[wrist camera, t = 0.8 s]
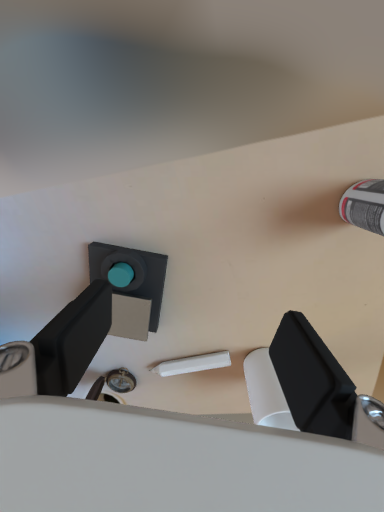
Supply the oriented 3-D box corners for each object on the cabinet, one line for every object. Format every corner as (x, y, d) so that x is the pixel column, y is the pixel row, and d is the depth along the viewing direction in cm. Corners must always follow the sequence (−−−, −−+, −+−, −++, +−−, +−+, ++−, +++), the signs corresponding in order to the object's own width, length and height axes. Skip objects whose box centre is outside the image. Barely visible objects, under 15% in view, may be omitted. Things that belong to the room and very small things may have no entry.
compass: (134, 390, 42) (121, 432, 35) (98, 381, 42) (78, 422, 35) (141, 367, 39) (128, 408, 32) (102, 357, 38) (81, 397, 32)
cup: (250, 342, 34) (268, 406, 25) (315, 355, 35) (356, 423, 25) (236, 372, 38) (247, 438, 28) (296, 384, 38) (325, 453, 29)
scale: (93, 238, 28) (81, 246, 25) (168, 252, 28) (164, 261, 25) (96, 315, 34) (86, 328, 31) (158, 326, 34) (153, 340, 31)
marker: (150, 362, 39) (228, 349, 36) (152, 373, 39) (231, 360, 36) (144, 368, 37) (227, 355, 34) (146, 380, 36) (230, 367, 33)
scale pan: (89, 286, 27) (87, 289, 27) (152, 298, 28) (151, 300, 27) (91, 328, 31) (89, 331, 30) (147, 338, 31) (146, 341, 30)
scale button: (112, 260, 26) (107, 265, 25) (134, 264, 26) (130, 269, 25) (112, 279, 27) (107, 285, 26) (133, 283, 28) (129, 289, 26)
